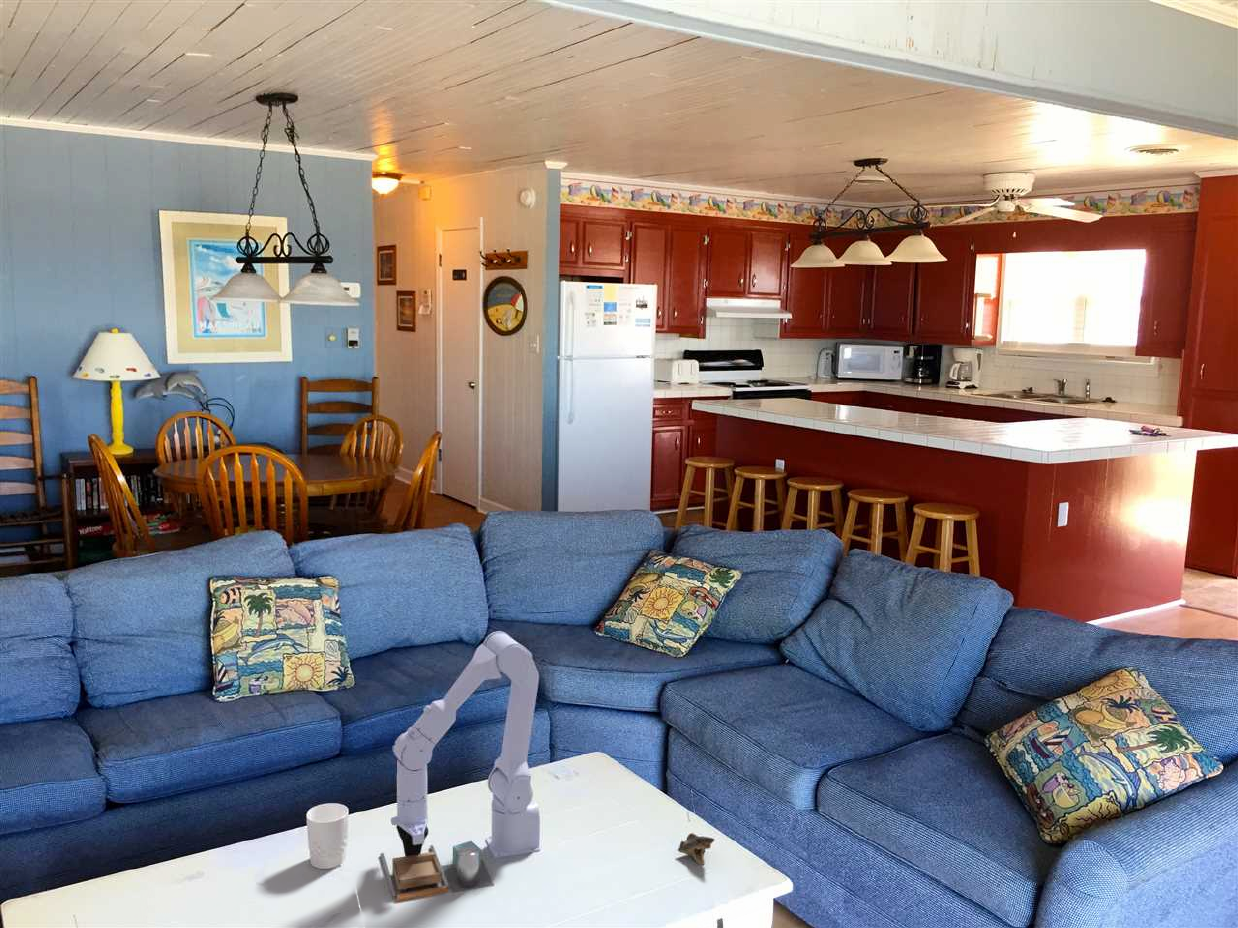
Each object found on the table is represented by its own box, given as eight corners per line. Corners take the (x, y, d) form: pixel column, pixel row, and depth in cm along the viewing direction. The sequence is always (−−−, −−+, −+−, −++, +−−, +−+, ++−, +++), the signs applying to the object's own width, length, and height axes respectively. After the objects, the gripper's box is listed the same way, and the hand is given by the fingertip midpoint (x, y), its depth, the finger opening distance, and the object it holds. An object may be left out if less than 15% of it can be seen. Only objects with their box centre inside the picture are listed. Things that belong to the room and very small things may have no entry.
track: (432, 848, 204) (432, 843, 203) (450, 893, 188) (450, 887, 188) (380, 857, 200) (380, 851, 200) (393, 903, 184) (393, 897, 184)
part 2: (475, 875, 194) (476, 845, 193) (480, 885, 190) (480, 855, 189) (455, 878, 192) (455, 849, 191) (459, 889, 188) (459, 859, 188)
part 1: (471, 859, 199) (471, 840, 199) (480, 868, 196) (480, 848, 196) (452, 865, 197) (452, 846, 196) (462, 874, 194) (462, 854, 193)
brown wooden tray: (434, 868, 196) (434, 851, 196) (441, 888, 189) (441, 870, 189) (392, 875, 193) (392, 858, 193) (398, 896, 186) (398, 878, 186)
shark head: (719, 870, 200) (727, 838, 199) (692, 871, 197) (699, 840, 196) (700, 847, 207) (707, 817, 206) (673, 849, 204) (680, 818, 203)
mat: (481, 860, 200) (481, 858, 200) (494, 886, 190) (494, 884, 190) (441, 866, 197) (441, 865, 197) (452, 893, 188) (452, 892, 187)
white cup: (337, 873, 194) (336, 824, 192) (299, 868, 195) (298, 819, 194) (355, 852, 201) (355, 805, 200) (319, 848, 203) (318, 801, 201)
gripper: (385, 781, 199) (385, 846, 201) (396, 815, 186) (397, 884, 187) (421, 776, 202) (421, 840, 203) (435, 809, 188) (435, 877, 190)
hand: (412, 861), depth 196 cm, fingers closed
